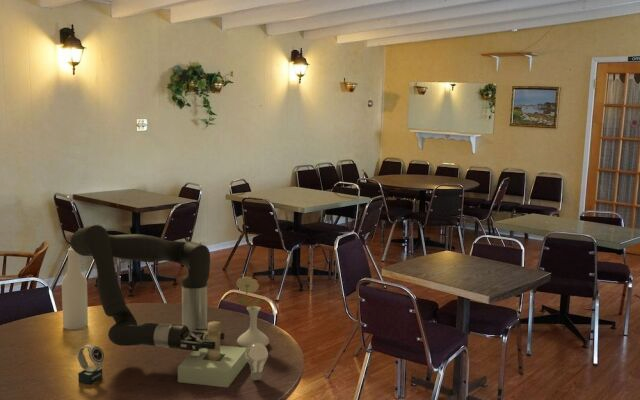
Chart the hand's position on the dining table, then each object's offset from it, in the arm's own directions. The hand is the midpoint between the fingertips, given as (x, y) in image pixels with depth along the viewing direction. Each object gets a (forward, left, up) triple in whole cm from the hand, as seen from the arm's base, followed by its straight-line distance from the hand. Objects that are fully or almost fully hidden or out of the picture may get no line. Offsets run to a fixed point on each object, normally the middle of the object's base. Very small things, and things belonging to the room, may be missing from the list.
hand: (219, 340), depth 206 cm
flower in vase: (-25, +3, -11) cm, 27 cm away
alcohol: (-27, -66, -11) cm, 72 cm away
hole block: (0, -2, -10) cm, 11 cm away
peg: (0, -2, -10) cm, 11 cm away
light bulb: (+3, +13, -11) cm, 17 cm away
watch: (+15, -36, -11) cm, 40 cm away
